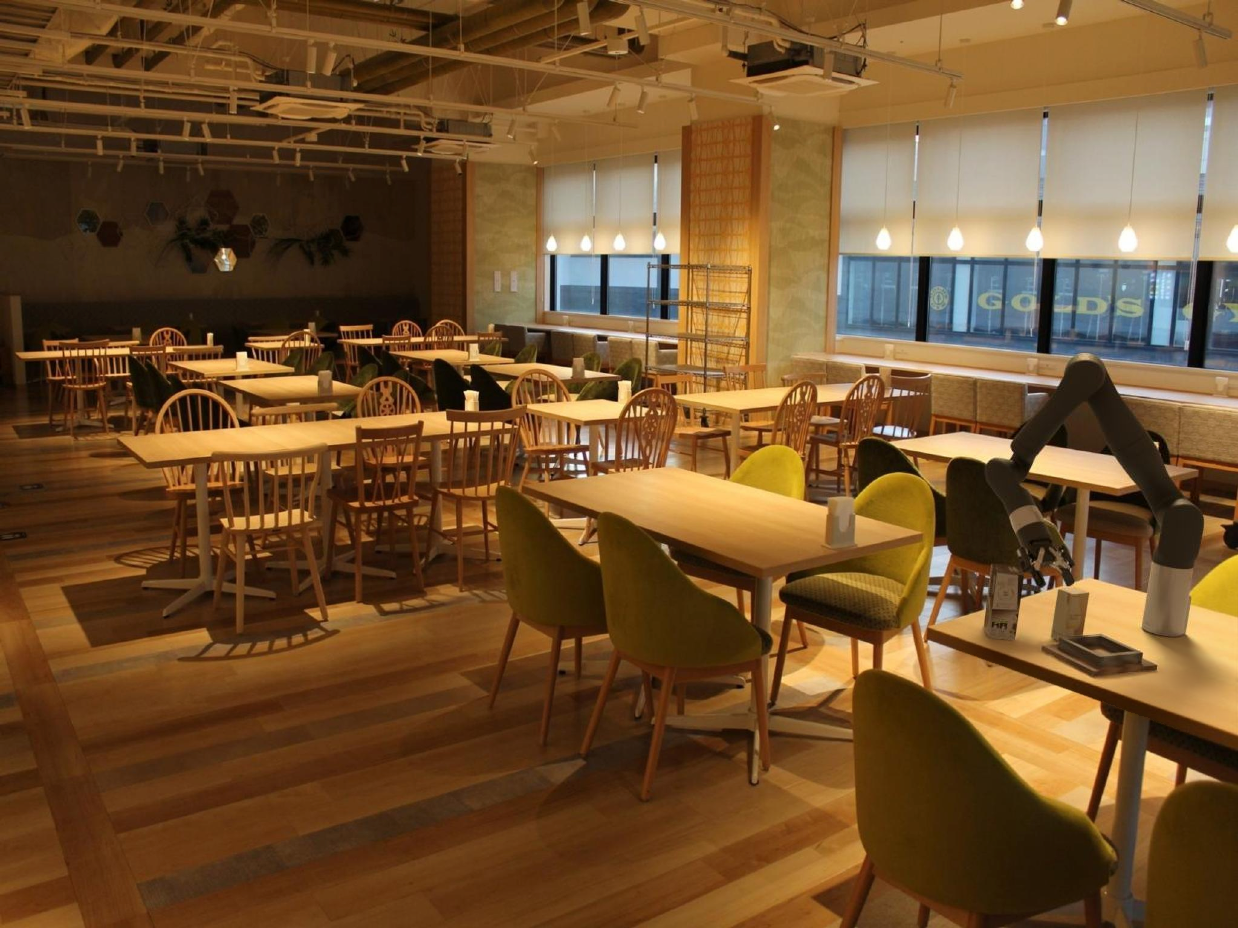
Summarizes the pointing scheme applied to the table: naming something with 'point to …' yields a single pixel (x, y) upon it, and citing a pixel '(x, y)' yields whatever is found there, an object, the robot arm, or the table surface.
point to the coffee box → (1003, 601)
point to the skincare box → (1069, 613)
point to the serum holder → (1099, 655)
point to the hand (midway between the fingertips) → (1057, 585)
